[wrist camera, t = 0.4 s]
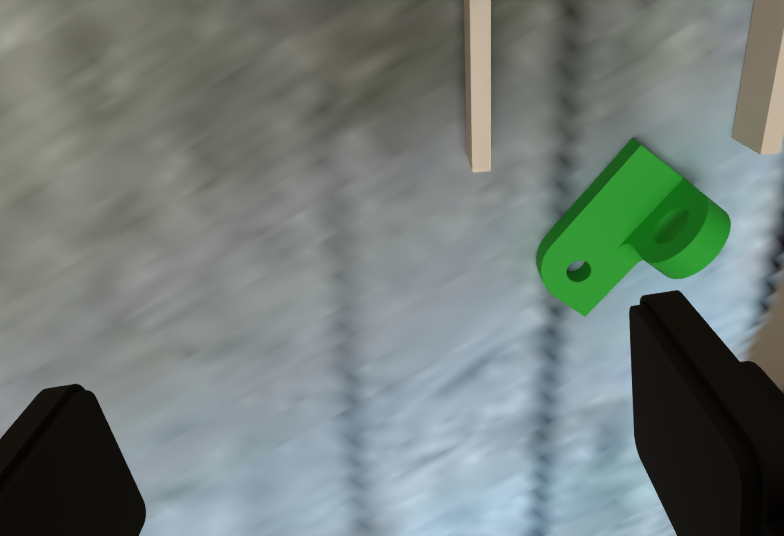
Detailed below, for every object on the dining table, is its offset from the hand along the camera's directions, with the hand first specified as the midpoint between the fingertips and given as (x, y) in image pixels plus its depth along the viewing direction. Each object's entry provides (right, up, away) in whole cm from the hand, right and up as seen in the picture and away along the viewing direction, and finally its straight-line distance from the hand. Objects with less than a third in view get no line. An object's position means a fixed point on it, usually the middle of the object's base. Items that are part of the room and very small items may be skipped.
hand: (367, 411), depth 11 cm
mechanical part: (+16, +6, +37) cm, 41 cm away
